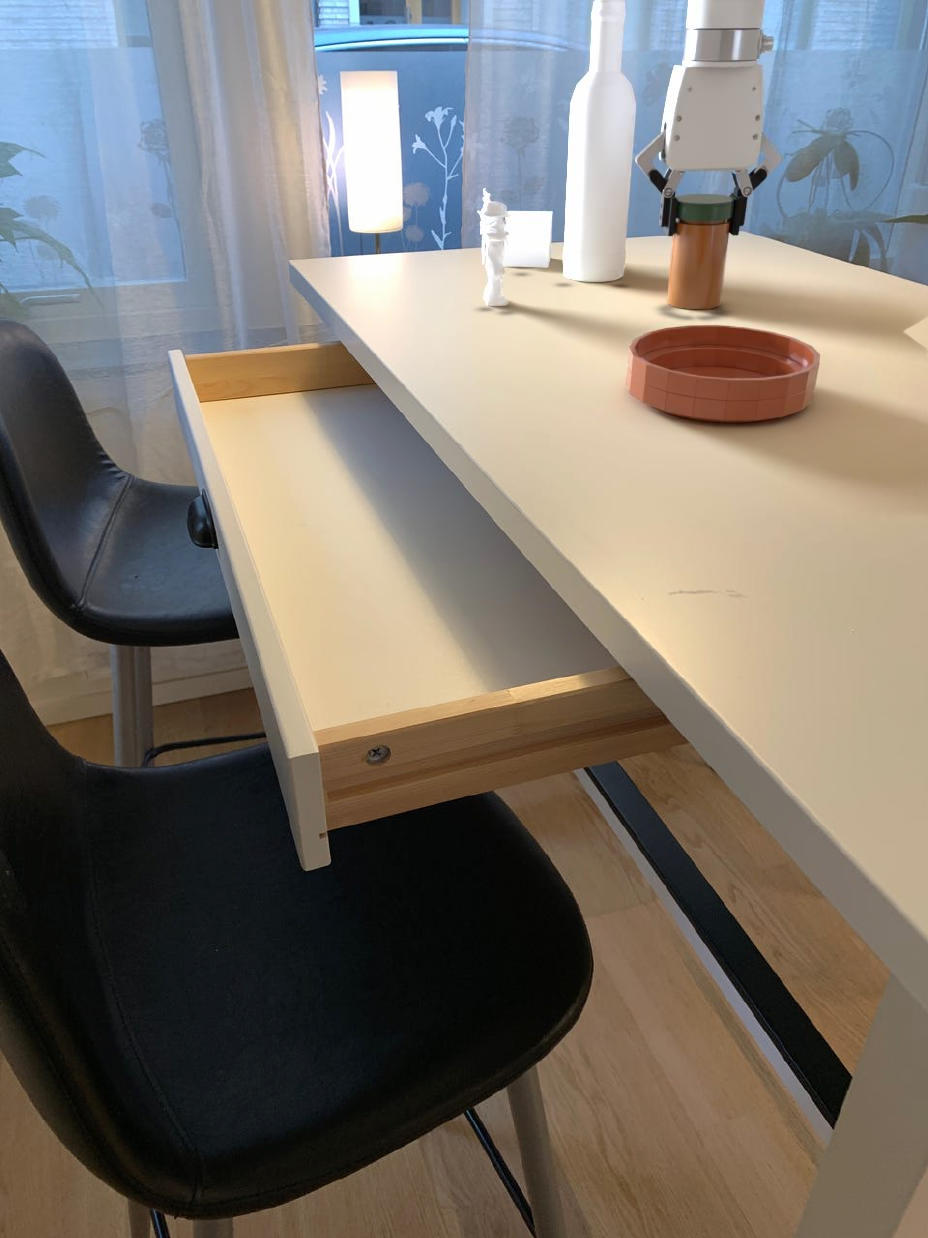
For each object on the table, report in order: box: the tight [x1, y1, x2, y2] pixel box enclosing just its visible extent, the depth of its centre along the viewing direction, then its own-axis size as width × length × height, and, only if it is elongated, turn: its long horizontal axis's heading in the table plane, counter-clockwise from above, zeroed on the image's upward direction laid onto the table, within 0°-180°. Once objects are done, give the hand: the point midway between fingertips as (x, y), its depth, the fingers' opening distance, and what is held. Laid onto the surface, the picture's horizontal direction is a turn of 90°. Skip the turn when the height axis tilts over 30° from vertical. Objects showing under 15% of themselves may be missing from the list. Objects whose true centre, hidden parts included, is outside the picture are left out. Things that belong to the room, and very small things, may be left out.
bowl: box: [625, 324, 821, 424], centre depth 86 cm, size 16×16×4 cm
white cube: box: [503, 210, 553, 269], centre depth 132 cm, size 6×6×6 cm
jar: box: [666, 218, 730, 310], centre depth 112 cm, size 6×6×11 cm
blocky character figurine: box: [477, 188, 512, 307], centre depth 112 cm, size 9×4×12 cm, turn 2°
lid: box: [675, 193, 735, 221], centre depth 109 cm, size 7×6×2 cm
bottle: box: [562, 0, 637, 283], centre depth 118 cm, size 8×8×30 cm
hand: (700, 231), depth 110 cm, fingers closed on lid, 6 cm apart
